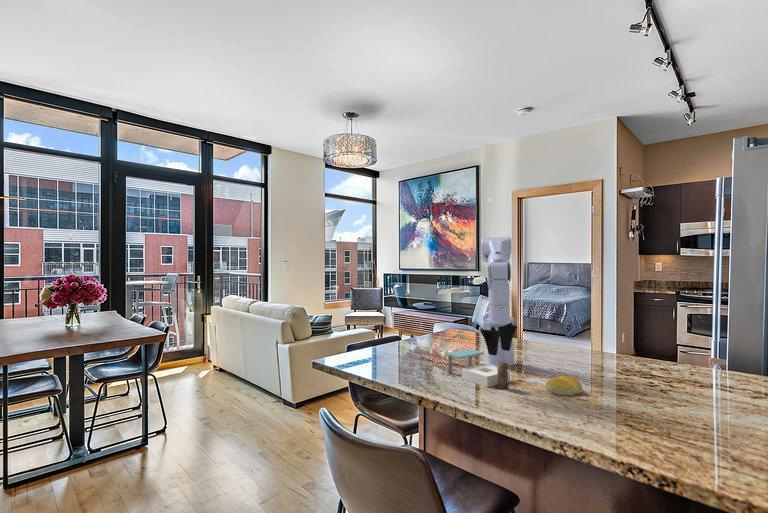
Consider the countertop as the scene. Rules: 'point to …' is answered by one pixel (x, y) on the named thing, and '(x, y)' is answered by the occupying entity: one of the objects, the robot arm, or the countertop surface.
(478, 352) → the awning
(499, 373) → the peg
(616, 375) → the countertop surface
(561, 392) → the bread roll
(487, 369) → the socket block
